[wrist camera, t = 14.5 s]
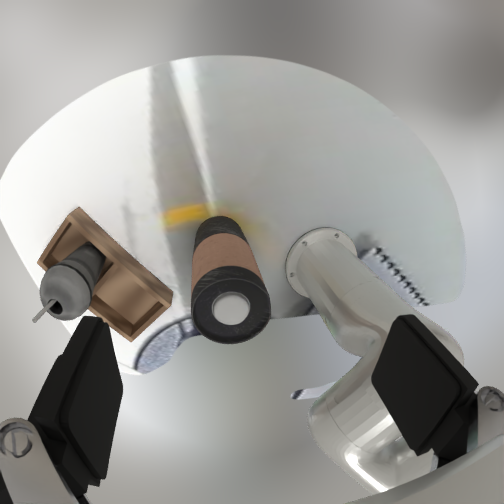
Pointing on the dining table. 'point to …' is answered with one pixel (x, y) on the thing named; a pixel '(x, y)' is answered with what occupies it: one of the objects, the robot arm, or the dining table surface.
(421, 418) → the robot arm
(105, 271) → the tray
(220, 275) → the travel mug
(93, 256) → the beverage cup
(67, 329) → the dining table surface
